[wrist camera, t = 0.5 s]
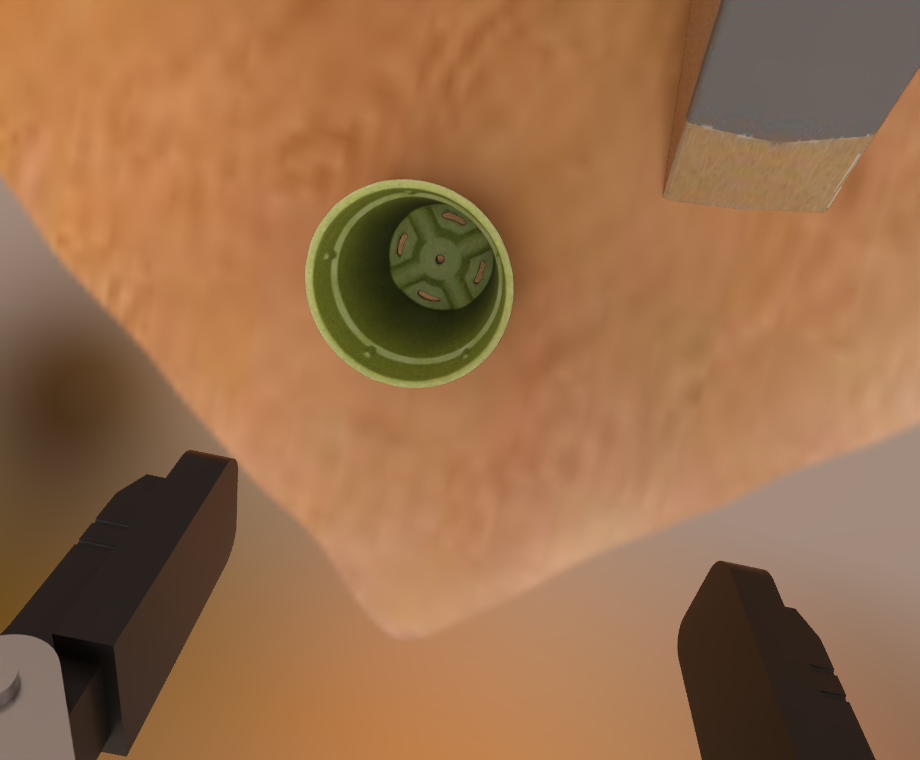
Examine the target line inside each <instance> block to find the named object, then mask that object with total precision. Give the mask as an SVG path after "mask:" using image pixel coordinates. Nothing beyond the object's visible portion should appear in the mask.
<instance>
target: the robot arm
mask: <svg viewBox="0 0 920 760" xmlns="http://www.w3.org/2000/svg"><path fill="white" fill-rule="evenodd" d="M237 482H238V465H237V461H236V460H235V459H232V458H228V457H223V456H218V455H213V454H208V453H203V452H198V451H193V450H189V451H186V452H185V453H184V454H183V455H182V457H181V458H180V459H179V461H178V462H177V463H176V465H175V466H174V468H173V469H172V470H171V472H170V473H169V475H168V476H167V477H166V478H162V477H157V476H152V475H147V474H146V475H145V476H144V477H142V478H140V479H138V480H137V481H135V482H133V483H132V484H130V485H129V486H127V487H125V488H124V489H122V490H121V491H119V492H117V493H116V494H115V495H114V497H113V498H112V499H111V500H110V502H109V503H108V504H107V505H106V506H105V508H104V509H103V510H102V511H101V513H100V514H99V515H98V516H97V518H96V521H95V523H92V524H91V525H90V526H89V528H88V529H87V530H86V531H85V532H84V534H83V535H82V536H81V537H80V539H79V542H78V544H77V545H76V544H75V545H74V546H73V547H72V548H71V550H70V551H69V552H68V553H67V555H66V556H65V557H64V558H63V560H62V561H61V562H60V563H59V564H58V566H57V567H56V568H55V570H54V571H53V572H52V573H51V574H50V576H49V577H48V578H47V579H46V581H45V582H44V583H43V584H42V586H41V587H40V588H39V589H38V590H37V592H36V593H35V594H34V595H33V597H32V598H31V599H30V600H29V602H28V603H27V604H26V605H25V607H24V608H23V609H22V610H21V611H20V613H19V614H18V615H17V616H16V618H15V619H14V620H13V621H12V622H11V624H10V625H9V626H8V627H7V628H6V629H5V630H4V631H3V632H2V633H1V634H0V760H97V758H98V756H99V755H100V753H101V752H106V753H111V754H117V755H121V756H127V755H128V753H129V751H130V749H131V747H132V745H133V743H134V741H135V739H136V737H137V735H138V733H139V732H140V730H141V727H142V726H143V724H144V722H145V720H146V718H147V716H148V714H149V712H150V710H151V708H152V706H153V704H154V702H155V700H156V699H157V697H158V695H159V693H160V691H161V689H162V687H163V685H164V683H165V681H166V679H167V677H168V676H169V674H170V672H171V670H172V668H173V666H174V664H175V662H176V660H177V658H178V656H179V654H180V652H181V650H182V649H183V646H184V645H185V643H186V641H187V639H188V637H189V635H190V633H191V631H192V629H193V627H194V625H195V623H196V621H197V619H198V618H199V616H200V614H201V612H202V610H203V608H204V606H205V604H206V602H207V600H208V598H209V596H210V594H211V593H212V590H213V589H214V587H215V585H216V583H217V581H218V579H219V577H220V575H221V573H222V571H223V569H224V567H225V565H226V563H227V561H228V558H229V556H230V553H231V550H232V546H233V542H234V539H235V533H236V518H237V517H236V516H237ZM678 658H679V662H680V667H681V671H682V675H683V680H684V684H685V688H686V693H687V697H688V701H689V706H690V710H691V714H692V719H693V723H694V727H695V732H696V736H697V740H698V744H699V748H700V753H701V758H702V760H875V758H874V755H873V753H872V751H871V749H870V747H869V744H868V742H867V740H866V738H865V736H864V733H863V731H862V729H861V727H860V725H859V723H858V720H857V718H856V716H855V714H854V712H853V710H852V707H851V705H850V703H849V702H846V699H845V697H846V694H845V692H844V690H843V687H842V685H841V683H840V681H839V679H838V677H837V676H835V675H834V668H833V666H832V664H831V661H830V659H829V657H828V655H827V652H826V650H825V648H824V646H823V644H822V641H821V639H820V638H819V636H818V635H817V634H816V633H815V632H814V631H813V629H812V628H811V627H810V626H809V625H808V623H807V622H806V621H805V620H804V619H803V617H802V616H801V615H800V614H799V613H798V612H797V610H796V609H794V608H789V607H785V606H784V604H783V601H782V599H781V597H780V594H779V592H778V590H777V587H776V585H775V583H774V580H773V578H772V576H771V575H770V574H769V573H768V572H767V571H766V570H763V569H758V568H753V567H749V566H744V565H739V564H734V563H729V562H724V561H718V562H716V563H715V564H714V565H713V566H712V568H711V569H710V571H709V573H708V575H707V576H706V578H705V580H704V582H703V583H702V585H701V587H700V589H699V591H698V592H697V594H696V596H695V598H694V600H693V601H692V603H691V605H690V607H689V609H688V611H687V612H686V614H685V616H684V618H683V620H682V622H681V625H680V629H679V634H678Z"/></svg>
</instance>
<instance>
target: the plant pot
mask: <svg viewBox="0 0 920 760" xmlns="http://www.w3.org/2000/svg"><path fill="white" fill-rule="evenodd" d="M447 212H450V213H452V214H454V215H457V216H460V217H462V218H463V219H464V220H465V222H466V224H465V225H461V224H459V223H457V222H456V221H453V220H450V219H445V218H443V217H442V214H443V213H447ZM403 234H407V235H408V236H407V239H406V241H405V243H404V245H403V250H402V255H401V256H399V255H398V254H397V247H398V243H399V239H400V237H401V235H403ZM438 255H442V256H443V257H444V261H443V263H442V264H438V263H437V262H436V257H437V256H438ZM481 261H484V262H485V267H484V270H483V277H482V279H481V281H480V282H479V283H478V284H475V283H474V279H475V277H476V275H477V273H478V270H479V266H480V262H481ZM305 286H306V294H307V299H308V304H309V307H310V311H311V313H312V316H313V319H314V321H315V323H316V325H317V327H318V329H319V331H320V333H321V334H322V336H323V338H324V339H325V340H326V342H327V343H328V345H329V346H330V347H331V348H332V350H333V351H334V352H335V353H336V354H337V355H338V356H339V357H340V358H341V359H342V360H343V361H344V362H346V363H347V364H348V365H349V366H351V367H352V368H353V369H355V370H357V371H358V372H360V373H361V374H363V375H365V376H367V377H369V378H371V379H373V380H376V381H378V382H381V383H385V384H389V385H392V386H397V387H404V388H424V387H433V386H438V385H442V384H446V383H448V382H451V381H454V380H456V379H458V378H460V377H462V376H464V375H466V374H467V373H469V372H471V371H472V370H473V369H475V368H476V367H477V366H478V365H480V364H481V363H482V362H483V361H484V360H485V359H486V358H487V357H488V356H489V355H490V354H491V352H492V351H493V350H494V349H495V347H496V346H497V344H498V342H499V341H500V339H501V337H502V335H503V333H504V331H505V329H506V326H507V324H508V321H509V318H510V314H511V310H512V304H513V293H514V282H513V273H512V267H511V263H510V259H509V255H508V252H507V250H506V247H505V245H504V243H503V241H502V238H501V236H500V235H499V233H498V231H497V230H496V228H495V227H494V225H493V224H492V223H491V221H490V220H489V219H488V218H487V216H486V215H485V214H484V213H483V212H482V211H481V210H480V209H479V208H478V207H476V206H475V205H474V204H473V203H472V202H471V201H469V200H468V199H466V198H465V197H463V196H462V195H460V194H458V193H456V192H455V191H453V190H451V189H449V188H446V187H444V186H441V185H438V184H435V183H431V182H427V181H421V180H410V179H393V180H386V181H381V182H377V183H373V184H370V185H367V186H365V187H362V188H360V189H358V190H356V191H354V192H352V193H351V194H349V195H347V196H346V197H345V198H343V199H342V200H341V201H339V202H338V203H337V204H336V205H335V206H334V207H333V208H332V209H331V210H330V211H329V212H328V213H327V215H326V216H325V217H324V218H323V220H322V221H321V223H320V225H319V226H318V228H317V230H316V232H315V234H314V236H313V238H312V241H311V244H310V248H309V251H308V255H307V261H306V267H305ZM418 290H422V291H423V292H425V293H427V294H429V295H432V296H435V297H436V298H440V300H439V301H429V300H426V299H424V298H422V297H420V296H419V294H418Z"/></svg>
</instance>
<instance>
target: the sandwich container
mask: <svg viewBox="0 0 920 760" xmlns="http://www.w3.org/2000/svg"><path fill="white" fill-rule="evenodd" d="M919 67H920V0H691V5H690V13H689V20H688V27H687V34H686V41H685V48H684V55H683V61H682V68H681V75H680V82H679V89H678V96H677V102H676V109H675V116H674V123H673V130H672V137H671V143H670V150H669V157H668V164H667V171H666V178H665V185H664V192H663V198H664V199H665V200H669V201H677V202H685V203H694V204H702V205H711V206H719V207H728V208H736V209H749V210H773V211H796V212H825V211H827V209H828V208H829V206H830V205H831V203H832V202H833V200H834V198H835V197H836V195H837V194H838V192H839V190H840V189H841V187H842V186H843V184H844V183H845V181H846V180H847V178H848V176H849V175H850V173H851V172H852V170H853V169H854V167H855V166H856V164H857V162H858V161H859V159H860V158H861V156H862V155H863V153H864V152H865V150H866V148H867V147H868V145H869V144H870V142H871V141H872V139H873V138H874V136H875V134H876V133H877V131H878V130H879V128H880V127H881V125H882V124H883V122H884V121H885V119H886V118H887V116H888V114H889V113H890V111H891V110H892V108H893V107H894V105H895V104H896V102H897V101H898V99H899V98H900V96H901V95H902V93H903V92H904V90H905V88H906V87H907V85H908V84H909V82H910V81H911V79H912V78H913V76H914V75H915V73H916V72H917V70H918V69H919Z"/></svg>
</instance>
